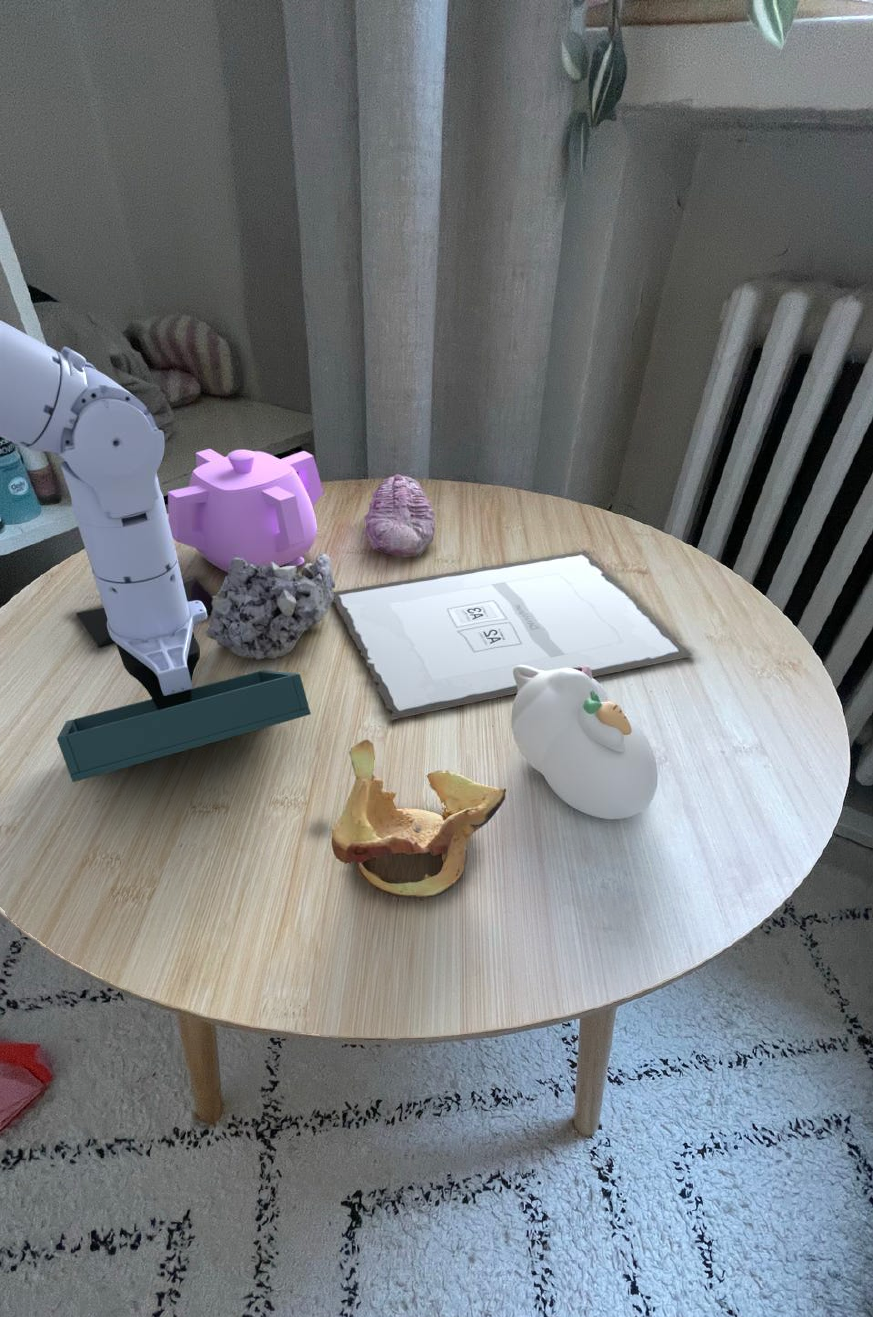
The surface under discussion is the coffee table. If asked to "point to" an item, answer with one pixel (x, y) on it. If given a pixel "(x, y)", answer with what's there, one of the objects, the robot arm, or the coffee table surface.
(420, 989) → the coffee table surface
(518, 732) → the cat figurine
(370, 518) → the fossil
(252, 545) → the pot
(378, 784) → the bone
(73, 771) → the tray
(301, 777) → the coffee table surface
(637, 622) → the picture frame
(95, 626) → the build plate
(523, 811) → the coffee table surface
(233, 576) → the mineral specimen
